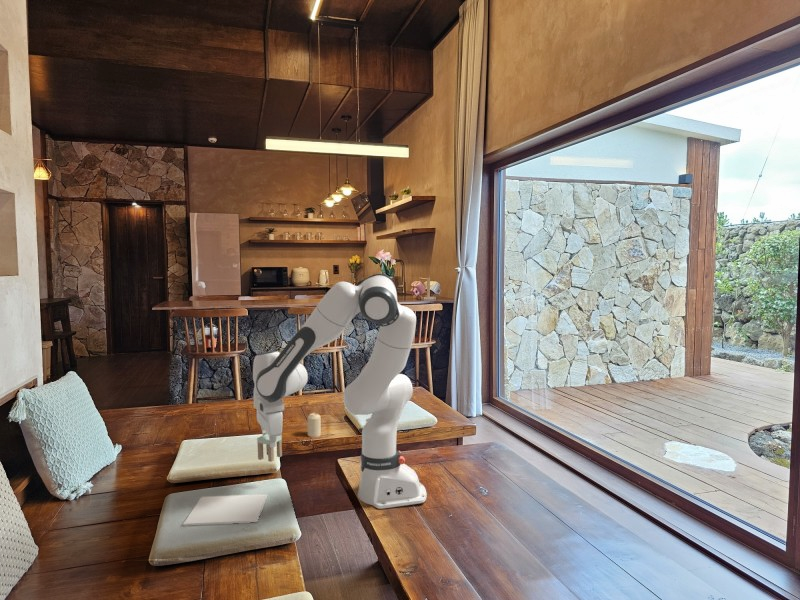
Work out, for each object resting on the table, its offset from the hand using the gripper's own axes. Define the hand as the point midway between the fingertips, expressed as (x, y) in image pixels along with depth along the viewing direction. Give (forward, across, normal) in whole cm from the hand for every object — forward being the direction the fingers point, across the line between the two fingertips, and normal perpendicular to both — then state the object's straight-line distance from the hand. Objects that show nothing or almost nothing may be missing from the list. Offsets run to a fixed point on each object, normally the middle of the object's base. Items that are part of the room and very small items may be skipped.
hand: (268, 442), depth 159 cm
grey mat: (+14, +11, -15) cm, 23 cm away
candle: (+14, -38, +27) cm, 48 cm away
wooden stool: (+5, 0, 0) cm, 5 cm away
